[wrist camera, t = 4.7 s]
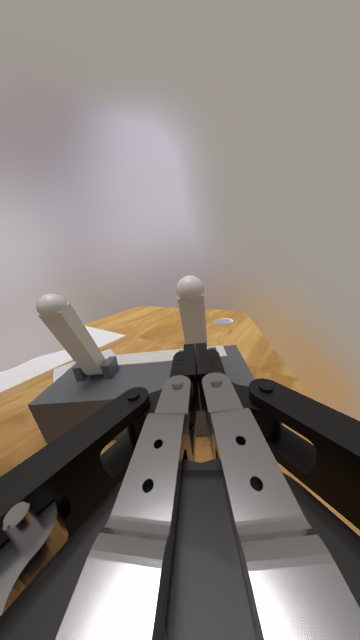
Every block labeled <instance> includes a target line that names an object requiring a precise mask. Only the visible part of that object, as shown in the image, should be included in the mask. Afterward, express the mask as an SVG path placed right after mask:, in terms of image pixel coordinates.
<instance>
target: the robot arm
mask: <svg viewBox="0 0 360 640" xmlns="http://www.w3.org/2000/svg"><path fill="white" fill-rule="evenodd" d="M195 347H196V353H195ZM198 385H199V386H198ZM199 393H200V400H199ZM200 402H201V411H205V415H206V424H207V430H208V435H209V441H210V446H211V451H212V456H213V460H210V461H207V462H204V463H198V462H195V443H196V411H200ZM282 423H284V424H285V425H287V426H288V427H290V428H291V429H293V430H295V431H296V432H298V433H299V434H301V435H303V436H304V437H306V438H307V439H308V440H310V441H311V442H312V443H313V445H312V444H310V443H309V442H307V441H306V440H304V439H303V438H301V437H300V436H298V435H296V434H295V433H293V432H292V431H290V430H289V429H287V428H286V427H284V426H283V425H282ZM126 428H127V433H126V434H125V435H123V436H122V437H121V438H120V439H119V440H118V441H117V442H116V443H114V444H113V445H112V446H111V447H110V448H109V449H108V450H106V451H105V452H104V453H103V454H102V455H100V454H101V451H102V449H103V448H104V447H105V446H106V445H107V444H108V443H109V442H110V441H111V440H113V439H114V438H115V437H116V436H117V435H118V434H120V433H121V432H122V431H123V430H124V429H126ZM277 462H278V463H279V464H281V465H282V466H283V467H284V468H285V469H287V470H288V471H289V472H290V473H292V474H293V475H294V476H295V477H296V478H298V479H299V480H300V481H301V482H302V483H304V484H305V485H306V486H307V487H309V488H310V489H311V490H312V491H313V492H315V493H316V494H317V495H318V496H319V497H321V498H322V499H323V500H324V501H325V502H327V503H328V504H329V505H330V506H332V507H333V508H334V509H335V510H336V511H338V512H339V513H340V514H341V515H342V516H344V517H345V518H346V519H347V520H348V521H350V522H351V523H352V524H353V525H355V526H356V527H357V528H358V529H359V530H360V421H358V420H356V419H353V418H351V417H349V416H347V415H345V414H343V413H341V412H338V411H336V410H334V409H331V408H330V407H328V406H326V405H323V404H321V403H319V402H317V401H315V400H313V399H311V398H308V397H306V396H304V395H302V394H300V393H298V392H296V391H293V390H291V389H289V388H287V387H285V386H283V385H281V384H278V383H276V382H274V381H272V380H268V379H255V380H253V381H251V382H250V384H249V386H243V385H238V384H235V383H233V382H231V380H230V379H229V377H228V376H226V374H225V371H224V367H223V364H222V361H221V358H220V355H219V352H218V351H216V350H215V349H207V347H206V342H205V343H195V344H184V351H183V352H177V353H176V354H175V355H174V356H173V362H172V367H171V372H170V378H168V379H167V380H166V381H165V383H164V385H163V388H162V389H160V390H158V391H155V392H152V393H149V394H148V391H147V389H145V388H143V387H134V388H131V389H129V390H127V391H126V392H124V393H123V394H121V395H120V396H118V397H117V398H115V399H114V400H112V401H111V402H109V403H108V404H107V405H105V406H104V407H102V408H101V409H99V410H98V411H96V412H95V413H93V414H92V415H91V416H89V417H88V418H86V419H85V420H83V421H82V422H80V423H79V424H77V425H76V426H74V427H73V428H72V429H70V430H69V431H67V432H66V433H64V434H63V435H61V436H60V437H58V438H57V439H56V440H54V441H53V442H51V443H50V444H48V445H47V446H45V447H44V448H42V449H41V450H39V451H38V452H37V453H35V454H34V455H32V456H31V457H29V458H28V459H26V460H25V461H23V462H22V463H21V464H19V465H18V466H16V467H15V468H13V469H12V470H10V471H9V472H7V473H6V474H4V475H3V476H2V477H0V640H360V536H359V535H357V534H356V533H355V532H354V531H353V530H352V529H351V528H349V527H348V526H347V525H346V524H345V523H344V522H343V521H341V520H340V519H339V518H338V517H337V516H336V515H335V514H333V513H332V512H331V511H330V510H329V509H328V508H327V507H326V506H324V505H323V504H322V503H321V502H320V501H319V500H318V499H316V498H315V497H314V496H313V495H312V494H311V493H310V492H308V491H307V490H306V489H305V488H304V487H303V486H301V485H300V484H299V483H298V482H296V481H295V480H294V479H292V478H291V477H289V476H288V475H286V474H284V473H283V472H282V471H281V469H280V467H279V465H278V463H277Z"/></svg>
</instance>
